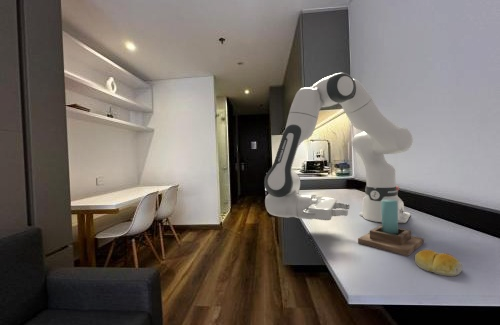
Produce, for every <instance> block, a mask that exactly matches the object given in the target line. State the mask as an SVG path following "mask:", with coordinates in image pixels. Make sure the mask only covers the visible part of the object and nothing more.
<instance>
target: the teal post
mask: <svg viewBox="0 0 500 325" xmlns="http://www.w3.org/2000/svg"><path fill="white" fill-rule="evenodd" d="M381 210H382V222H381V225H382V232H384V233H389V234H393V235H398V228H399V222H398V210H397V201H396V200H381Z"/></svg>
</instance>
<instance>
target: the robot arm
mask: <svg viewBox="0 0 500 325" xmlns="http://www.w3.org/2000/svg"><path fill="white" fill-rule="evenodd" d="M337 104H339V106H341V107H342V110H343V111H344V113H345V115H346V117H347V118H348V119H349V121H350V123H351V124H352V126H353V127H354V128H355V129H356V130H359V131H362V132H359V133H357V134H355V135H354V136H353V138H352V141H351V142H352V143H351V146H352V149H353V151H354V152H356V153H357V155H358V156H359V157H360V158H361V160H362V162H363V165H364V169H365V179H366V180H365V182H366V185H365V196H364V197H363V198H362V209H361V210H362V211H360V212H359V216H360V217H363V219H365V220H367V221H372V222H376V223H382V210H381V200H396V201H397V210H398V224H399V223H401V224H403V223H407V222H408V220H409V219H410V216H411V213H410V212H406V211H405V204H404V201H403V200H402V199H401V198H400V197H399V196H398V195H399V194H398V193H399V191H400V190H399V189H400V187H399V185H397V186H396V170H395V169H396V168H395V167H394V166H393V165H392V164H391V163H388V161H387V160H386V159H385V155H397V154H400V153H404V152H407V151H409V150H410V148H411V146H412V143H413V140H414V139H413V135H412V133H411V131H410V130H409V129H408V128H406V127H402V126H400V125H398V124H396V123H394V122H393V121H391V120H390V119H389V118H387V117H386V116H385V115H384V114H383V113H382V112H381V111H380V110H379V108H378V106H377V105H376V103H375V101H374V100H373V97H371V95H370V93H369V92H368V90H367V89H366V88H365V86H364V85H363V84H362V83H361V82H360V81H359V80H358V79H356V78H353V77H352V76H351V75H350V74H348V73H346V72H338V73H333V74H332V75H328V76H326V77H324V78H322V79H320V80H318V81H317V82H314V83H313V84H312V85H311V86H310V87H301V88H300V89H299V90H298V91H296V93H295V95H294V98H293V100H292V102H291V106H290V108H289V112H288V116H287V120H286V125H285V129H284V131H283V134H282V137H281V140H280V143H279V145H278V149H277V152H276V155H275V158H274V160H273V164H272V165H271V167H270V169H269V170H268V172H266V175H265V176H264V182H263V184H264V188H265V189H266V192H267V193H268V194H267V195H266V196H265V199H264V205H265V206H264V207H265V209H266V211H267V212H268V213H269V215H271V216H273V217H274V216H275V217H280V218H297V219H301V220H302V219H303V220H311V221H312V220H319V221H331V220H332V218H333V217H340V216H341V217H342V216H344V217H346V216H348V215H349V210H350V208H351V207H350V205H351V204H350V203H344V202H339V201H338V200H337V198H333V197H328V196H317V195H316V194H299V193H300V188H301V179H300V176H299V174H298V173H296V172H295V171H292V167H293V164H294V161H295V157H296V154H297V151H298V148H299V147H300V145H301V143H303V142H305V141H306V140H308V139H310V138H311V137H312V135H313V134H314V131H315V129H316V126H317V124H318V123H317V122H318V119H319V114H320V111H321V109H322V108H328V107H332V106H335V105H337Z"/></svg>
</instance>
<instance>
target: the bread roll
mask: <svg viewBox="0 0 500 325" xmlns="http://www.w3.org/2000/svg"><path fill="white" fill-rule="evenodd" d="M414 259H415V260H414V261H415V264H416V265H417V266H418V267H419V268H420V269H422V270H423V271H427V272H431V273H432V272H433V273H434V274H436V275H439V276H445V277H456V276H458V275H460V274H461V272H462V271H463V265H462V264H461V262H460V261H459V260H458V259H457V258H456V257H454V256H453V255H451V254H448V253H444V252H443V253H438V252H436V251H434V250H433V249H432V250H431V249H424V250H420V251H418V252H416V254H415V255H414Z"/></svg>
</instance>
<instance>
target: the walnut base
mask: <svg viewBox="0 0 500 325" xmlns="http://www.w3.org/2000/svg"><path fill="white" fill-rule="evenodd" d="M424 241H425V240H424V237H419V236H414V235H412V230H410V229H405V228H401V227H398V235H393V234H389V233H384V232H382V224H380V225H378V226H377V227H374V228H372V229H370V230H369V232H368V233H366V234H364V235H362V236H359V237H358V238H357V243H358V244H360V243H361V245H366V246H369V247H371V246H372V247H373V248H376V249H380V250H384V251H387V252H390V253H395V254H399V255H402V256H404V257H405V256H406V257H409V256H410V255H411V254H413V253H414V252H415V251H416V250H417V249H418V248H420V246H422V245H423V244H424Z"/></svg>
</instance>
